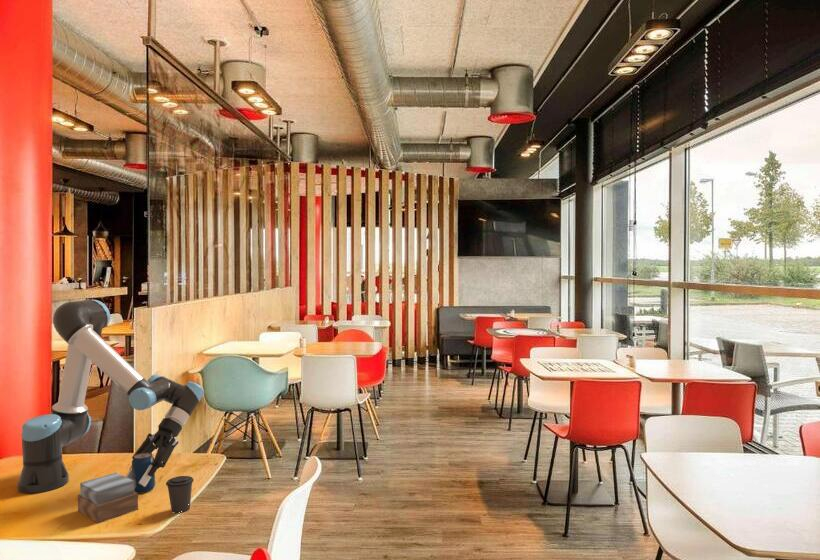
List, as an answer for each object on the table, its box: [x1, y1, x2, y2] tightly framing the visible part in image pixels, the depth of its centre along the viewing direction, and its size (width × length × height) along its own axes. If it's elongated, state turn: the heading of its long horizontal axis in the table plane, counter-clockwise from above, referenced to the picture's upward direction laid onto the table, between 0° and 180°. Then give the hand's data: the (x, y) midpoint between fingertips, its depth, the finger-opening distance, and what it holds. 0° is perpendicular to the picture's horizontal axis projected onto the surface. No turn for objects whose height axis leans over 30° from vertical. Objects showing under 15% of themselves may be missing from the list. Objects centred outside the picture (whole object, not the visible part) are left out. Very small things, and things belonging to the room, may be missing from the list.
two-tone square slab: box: [77, 472, 139, 524], centre depth 184 cm, size 14×12×9 cm
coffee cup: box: [165, 475, 195, 514], centre depth 183 cm, size 8×8×10 cm
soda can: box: [131, 452, 156, 494], centre depth 200 cm, size 7×7×12 cm
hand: (134, 482), depth 197 cm, fingers closed on soda can, 7 cm apart
